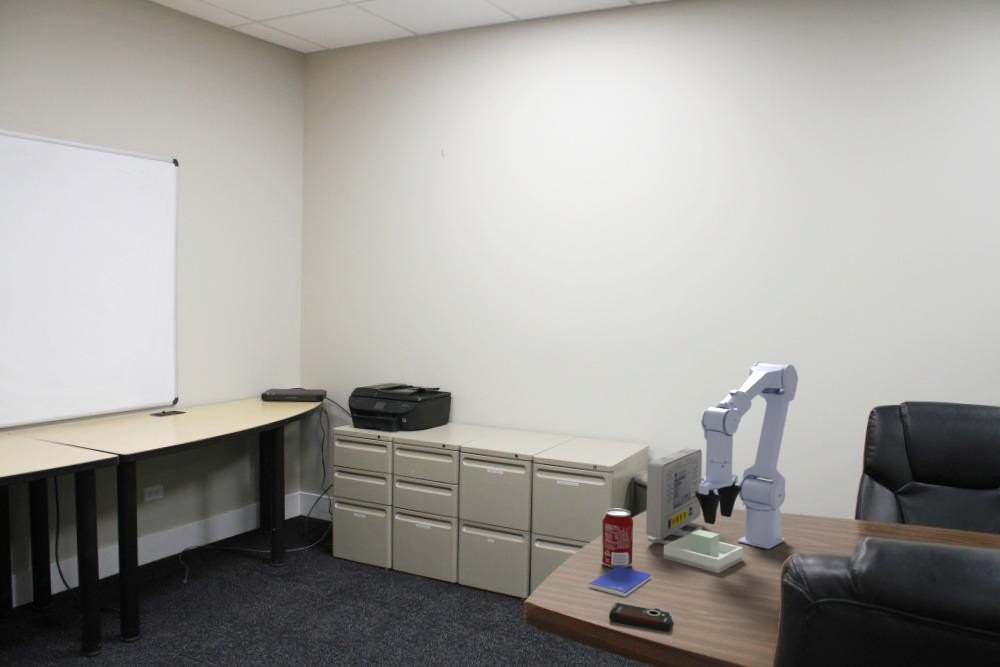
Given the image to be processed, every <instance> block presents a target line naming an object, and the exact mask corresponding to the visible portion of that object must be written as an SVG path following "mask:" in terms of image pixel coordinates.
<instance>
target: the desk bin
mask: <svg viewBox="0 0 1000 667" xmlns="http://www.w3.org/2000/svg"><path fill="white" fill-rule="evenodd" d="M690 550H691V535H690V534H689V535H687V536H684V537H680V538H677V539H675V540H673V542H671V543H668V544H663V559H665V560H669V561H673V562H675V563H678V564H679V563H680V564H683V565H686V566H691V567H694V568H698V569H701V570H704V571H708V572H712V573H716V574H720V573H722V572H724V571H725V570H728V569H730V568H731V567H733V566H734V565H736V564H739V563H741V562H743V558H744V557H743V556H744V547H742V546H738V545H735V544H730V543H727V542H722V541H719V556H718V557H716V558H715V557H711V556H708V555H704V554H700V553H696V552H692V551H690Z"/></svg>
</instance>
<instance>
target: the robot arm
mask: <svg viewBox="0 0 1000 667" xmlns="http://www.w3.org/2000/svg"><path fill="white" fill-rule="evenodd" d="M797 372H798V371H797V369H796V368H795V366H794V365H793V364H781V363H780V364H779V363H767V362H760V361H757V362H755V363H754V364H753V365H752V366H750V369H749V374H748V376H749V377H747V380H746V381H745V382H744V383H743V385H742V386H741V387H740V388H739V389H732V390H730V391H729V393H728V394H726V396H725V397H723V399H722V400H721V401H720V402H719V403H718V404H717V405H716V406H714V407H713V406H711V407H709V408H708V409H707V408H706V409H705V411H704V412H703V415H702V419H701V420H700V424H701V427H702V430H703V437H704V439H705V440H706V449H705V450H706V451H705V476H701V484H699V490H697V491H695V496H696V497H697V499H698V501H699V503H700V505H701V511H702V516H703V519H704V523H705V524H709V525H715V523H716V520H717V519H716V518H717V511H718V506H719V511H720V516H722V517H725V518H731V517H732V513H733V511H734V506H735V502H736V501H737V498H739V499H740V500H741V501H742V506H745V508H744V511H745V512H744V513H745V514H744V515H745V516H744V519H745V520H744V536H743V537H740V538H739V539H737V542H738V543H741V544H746V545H750V546H755V547H759V548H763V549H767V550H770V549H771V548H773V547H775V546H777V545H779V544H780V543H782V542H785V540H786V539H785V538H784V537H782V522H783V521H782V518H783V517H782V512H781V509H780V507H782V505H783V504H784V502H785V498H786V489H785V488H786V478H785V477H784V476H783V475H782V474H781V472H780V471H779V470H778V469H777V466H778V462H779V456H780V451H781V446H782V441H783V435H784V430H785V425H786V419H787V415H788V411H789V410H788V409H789V404H790V402H792V401H794V399H795V396H796V392H797V387H798V383H799V382H798V381H799V377H798V373H797ZM758 395H759V397H761V398H763V399H764V400H765V402H766V406H765V412H764V416H763V421H762V425H761V431H760V436H759V441H758V446H757V449H756V450H757V451H756V456H755V461H754V464H753V465H751V466H749V467H747V468H746V469H744V471H743V474H742V478H741V479H740V480H739V476H738V474H733V450H734V449H733V448H734V446H733V444H734V442H733V440H734V437H733V436H734V434H736V433H737V431H738V428H739V424H740V423H741V418H742V417H744V415H745V414H746V413H748V411H750V409H751V408H752V400H753V399H754V398H756V397H757V396H758ZM738 480H739V483H738ZM737 484H738V485H737ZM714 491H716V492H717V494H716V492H714Z"/></svg>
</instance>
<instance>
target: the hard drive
mask: <svg viewBox="0 0 1000 667" xmlns="http://www.w3.org/2000/svg"><path fill="white" fill-rule="evenodd" d="M651 579H652V574H651V573H648V572H644V571H639V570H636V569H632V568H628V567H626V568H623V567H619V566H617V567H615V568H611V569H610V570H609V571H607V572H605V573H604V574H601V575H600V576H598V577H597V578H595V579H594V580H592V581H591V582H589V583H588V588H590V589H595V590H598V591H602V592H606V593H610V594H614V595H617V596H622V597H627V596H628V595H629V594H630V593H633V591H635V590H636V589H638V588H640V587H641V586H642V585H644V584H645V583H646V582H648V581H649V580H651Z"/></svg>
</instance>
